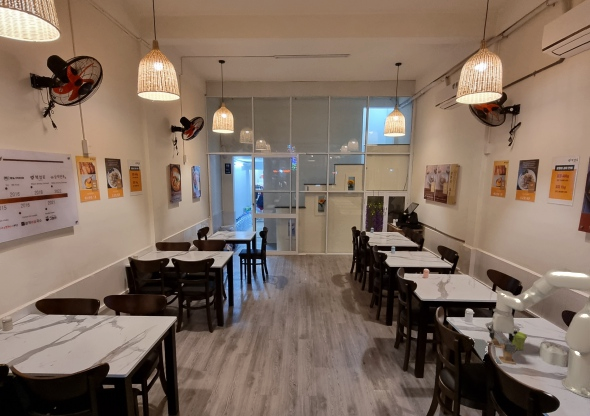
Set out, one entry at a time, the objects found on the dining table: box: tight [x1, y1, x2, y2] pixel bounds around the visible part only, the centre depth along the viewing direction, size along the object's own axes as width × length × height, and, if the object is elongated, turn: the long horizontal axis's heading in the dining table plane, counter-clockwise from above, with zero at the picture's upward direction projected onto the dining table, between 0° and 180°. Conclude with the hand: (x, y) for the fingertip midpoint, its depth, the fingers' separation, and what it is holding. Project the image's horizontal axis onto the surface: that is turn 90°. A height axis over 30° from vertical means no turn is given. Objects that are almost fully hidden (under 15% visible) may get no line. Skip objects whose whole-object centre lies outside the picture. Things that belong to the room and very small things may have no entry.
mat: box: [473, 337, 502, 364], centre depth 168 cm, size 24×9×1 cm, turn 166°
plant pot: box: [507, 330, 528, 351], centre depth 171 cm, size 9×9×9 cm
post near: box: [498, 343, 517, 366], centre depth 158 cm, size 5×6×9 cm
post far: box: [486, 330, 502, 349], centre depth 173 cm, size 5×6×9 cm
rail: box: [489, 326, 516, 354], centre depth 165 cm, size 22×4×4 cm, turn 166°
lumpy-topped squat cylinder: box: [539, 341, 568, 368], centre depth 160 cm, size 10×13×9 cm
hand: (500, 339), depth 165 cm, fingers open, 9 cm apart
